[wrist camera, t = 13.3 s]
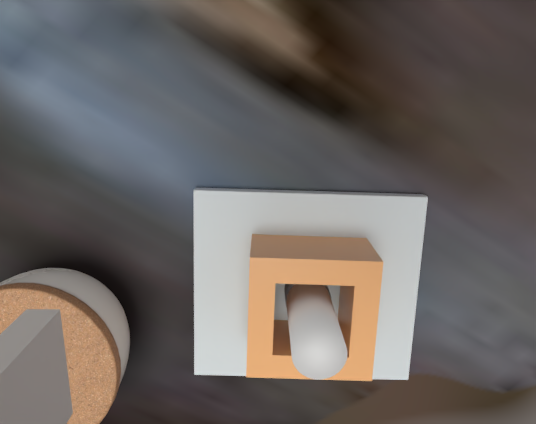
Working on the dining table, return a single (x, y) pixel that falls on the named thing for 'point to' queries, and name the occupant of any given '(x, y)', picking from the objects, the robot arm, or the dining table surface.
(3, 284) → the lidded jar
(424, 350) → the dining table surface
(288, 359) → the collar
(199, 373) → the post stand
